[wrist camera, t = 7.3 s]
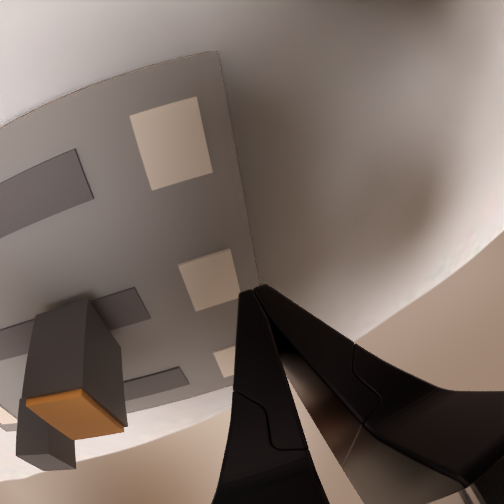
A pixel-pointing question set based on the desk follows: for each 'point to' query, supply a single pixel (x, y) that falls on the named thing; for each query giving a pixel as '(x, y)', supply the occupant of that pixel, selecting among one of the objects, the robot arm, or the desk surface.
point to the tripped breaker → (75, 373)
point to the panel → (125, 236)
